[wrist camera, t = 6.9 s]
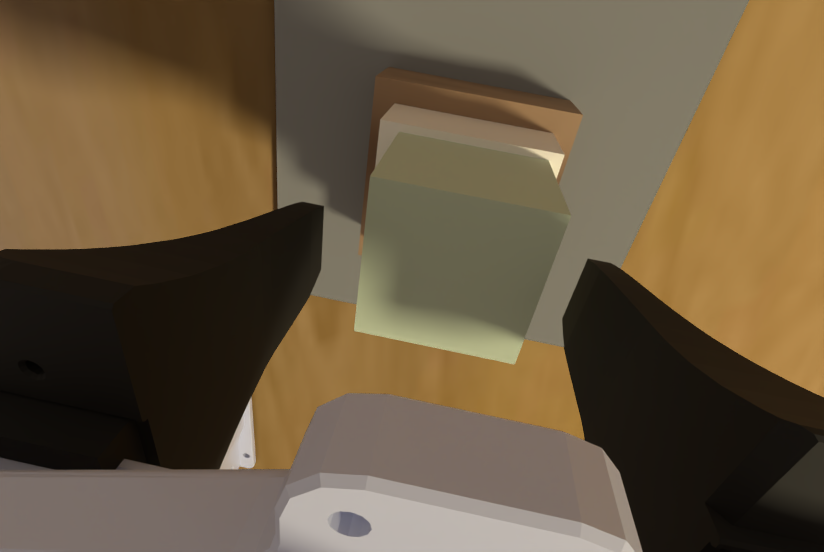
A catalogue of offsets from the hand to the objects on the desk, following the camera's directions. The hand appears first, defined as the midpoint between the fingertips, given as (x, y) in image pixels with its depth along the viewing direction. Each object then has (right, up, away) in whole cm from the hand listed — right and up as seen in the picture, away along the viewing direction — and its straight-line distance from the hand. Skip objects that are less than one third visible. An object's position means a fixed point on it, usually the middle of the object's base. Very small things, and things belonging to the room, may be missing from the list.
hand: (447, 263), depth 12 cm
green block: (0, +2, +2) cm, 3 cm away
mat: (+1, +4, +7) cm, 8 cm away
